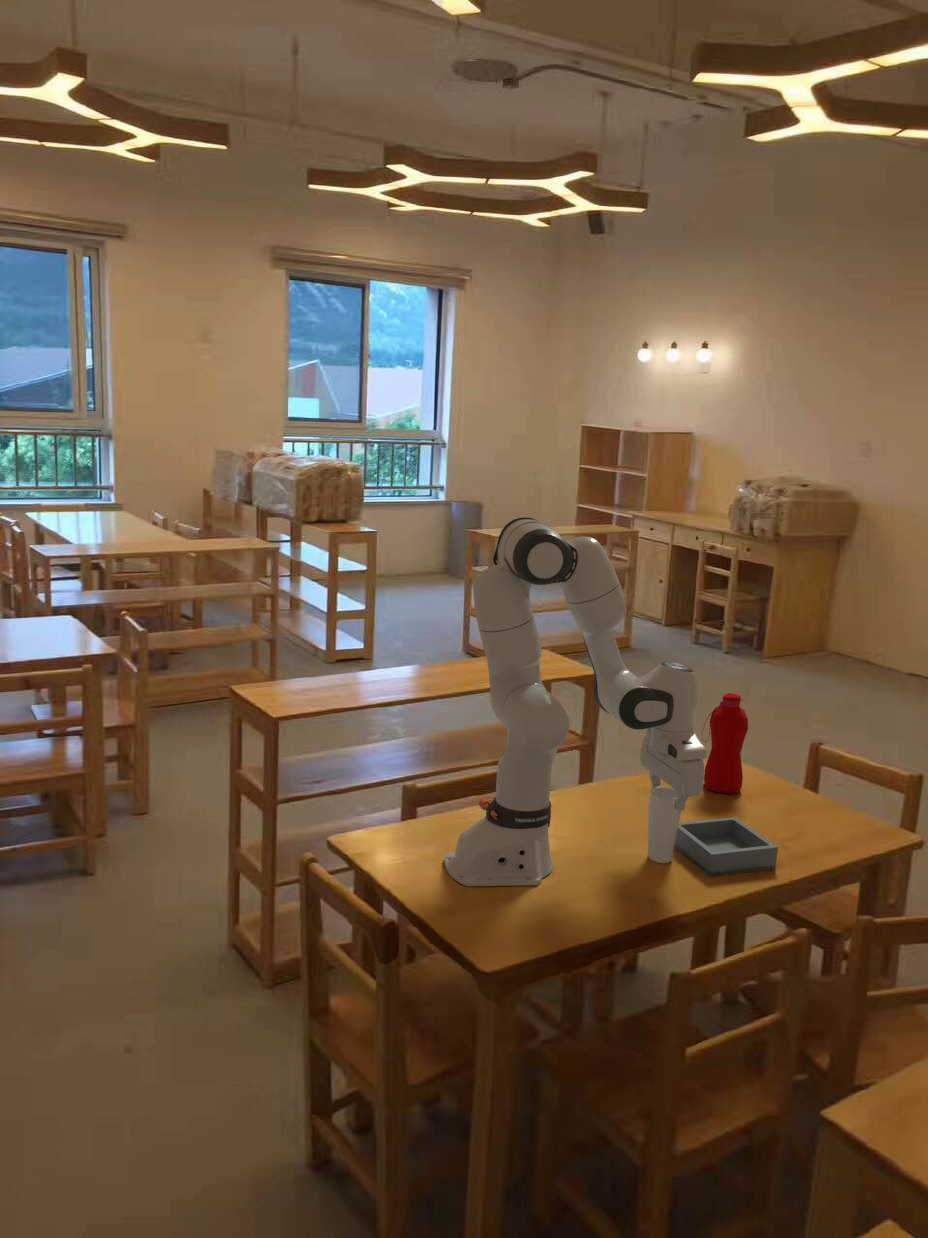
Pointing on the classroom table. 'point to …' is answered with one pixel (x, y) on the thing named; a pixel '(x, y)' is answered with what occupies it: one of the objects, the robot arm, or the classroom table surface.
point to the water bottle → (726, 746)
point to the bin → (725, 847)
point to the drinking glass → (662, 824)
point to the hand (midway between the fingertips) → (667, 800)
